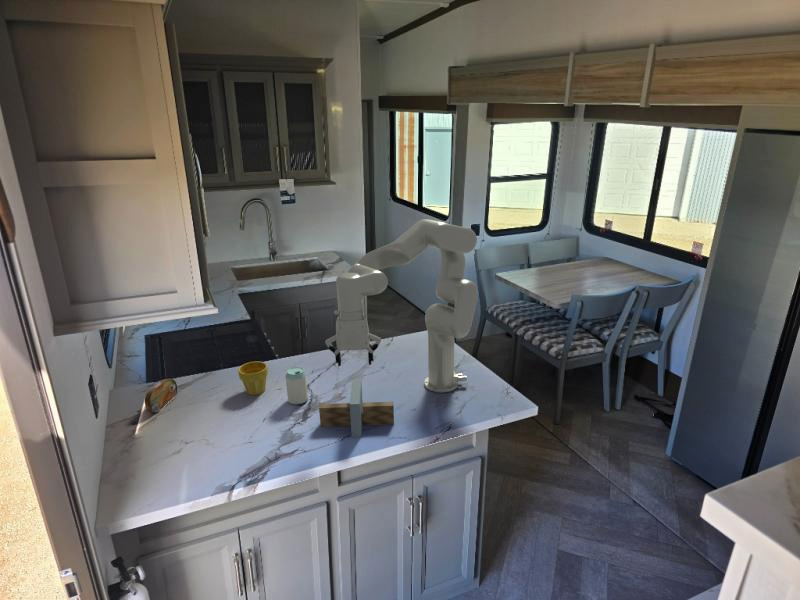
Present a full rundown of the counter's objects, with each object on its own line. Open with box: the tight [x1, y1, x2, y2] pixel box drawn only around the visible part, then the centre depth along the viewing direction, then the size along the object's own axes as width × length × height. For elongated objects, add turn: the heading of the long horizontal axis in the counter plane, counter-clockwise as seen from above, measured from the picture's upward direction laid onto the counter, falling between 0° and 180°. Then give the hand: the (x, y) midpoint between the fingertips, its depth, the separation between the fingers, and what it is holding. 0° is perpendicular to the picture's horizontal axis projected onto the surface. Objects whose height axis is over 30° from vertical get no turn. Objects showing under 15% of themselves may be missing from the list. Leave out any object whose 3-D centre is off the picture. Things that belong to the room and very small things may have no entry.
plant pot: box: [237, 360, 269, 396], centre depth 193 cm, size 10×10×10 cm
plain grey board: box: [349, 378, 364, 439], centre depth 170 cm, size 16×3×12 cm, turn 2°
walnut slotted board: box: [318, 401, 395, 428], centre depth 171 cm, size 24×2×7 cm, turn 91°
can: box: [285, 366, 309, 405], centre depth 185 cm, size 7×7×12 cm
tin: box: [144, 378, 178, 413], centre depth 185 cm, size 15×3×8 cm, turn 168°
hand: (354, 363), depth 165 cm, fingers open, 9 cm apart
